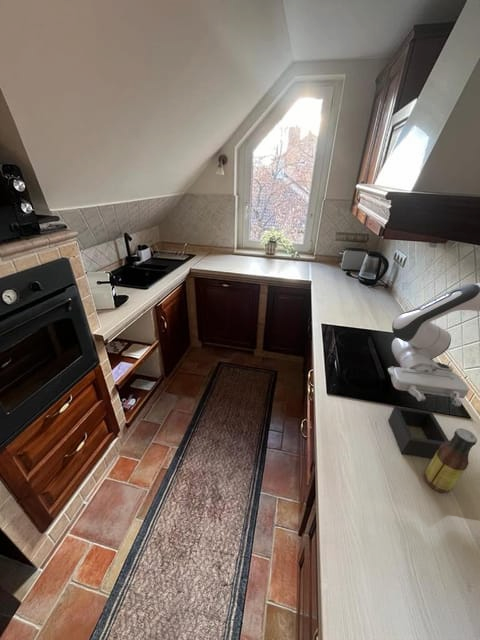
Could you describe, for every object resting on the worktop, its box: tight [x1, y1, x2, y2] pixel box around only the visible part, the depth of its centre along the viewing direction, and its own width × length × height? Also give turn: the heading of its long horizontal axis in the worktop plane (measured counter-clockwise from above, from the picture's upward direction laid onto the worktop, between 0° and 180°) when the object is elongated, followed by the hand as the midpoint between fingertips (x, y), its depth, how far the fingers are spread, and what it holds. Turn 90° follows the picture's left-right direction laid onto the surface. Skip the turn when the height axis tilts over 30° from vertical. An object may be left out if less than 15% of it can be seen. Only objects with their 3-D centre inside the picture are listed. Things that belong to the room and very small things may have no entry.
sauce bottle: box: [424, 427, 478, 494], centre depth 66 cm, size 6×6×20 cm
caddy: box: [387, 406, 450, 460], centre depth 80 cm, size 11×12×7 cm
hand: (440, 402), depth 73 cm, fingers open, 8 cm apart
